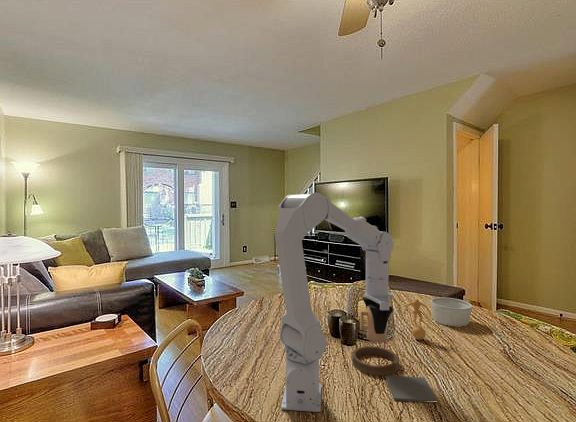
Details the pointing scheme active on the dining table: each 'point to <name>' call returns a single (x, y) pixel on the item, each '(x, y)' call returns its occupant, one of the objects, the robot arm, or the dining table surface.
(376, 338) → the pink rounded pillar
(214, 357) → the dining table surface
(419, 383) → the charcoal mat
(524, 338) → the dining table surface
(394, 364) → the dark brown ring
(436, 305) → the ramekin
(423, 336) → the figurine
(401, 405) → the dining table surface
